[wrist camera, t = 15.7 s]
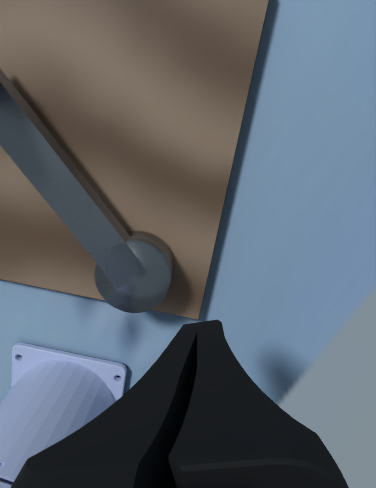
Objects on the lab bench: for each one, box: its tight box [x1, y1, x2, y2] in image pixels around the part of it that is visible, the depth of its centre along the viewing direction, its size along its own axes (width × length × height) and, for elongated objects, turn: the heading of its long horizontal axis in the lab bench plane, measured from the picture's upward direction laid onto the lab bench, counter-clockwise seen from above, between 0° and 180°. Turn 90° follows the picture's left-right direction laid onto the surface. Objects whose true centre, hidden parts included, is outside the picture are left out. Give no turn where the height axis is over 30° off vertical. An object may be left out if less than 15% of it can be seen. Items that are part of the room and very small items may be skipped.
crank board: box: [0, 0, 269, 320], centre depth 19 cm, size 18×16×1 cm
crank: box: [0, 68, 174, 313], centre depth 16 cm, size 16×4×6 cm, turn 35°
